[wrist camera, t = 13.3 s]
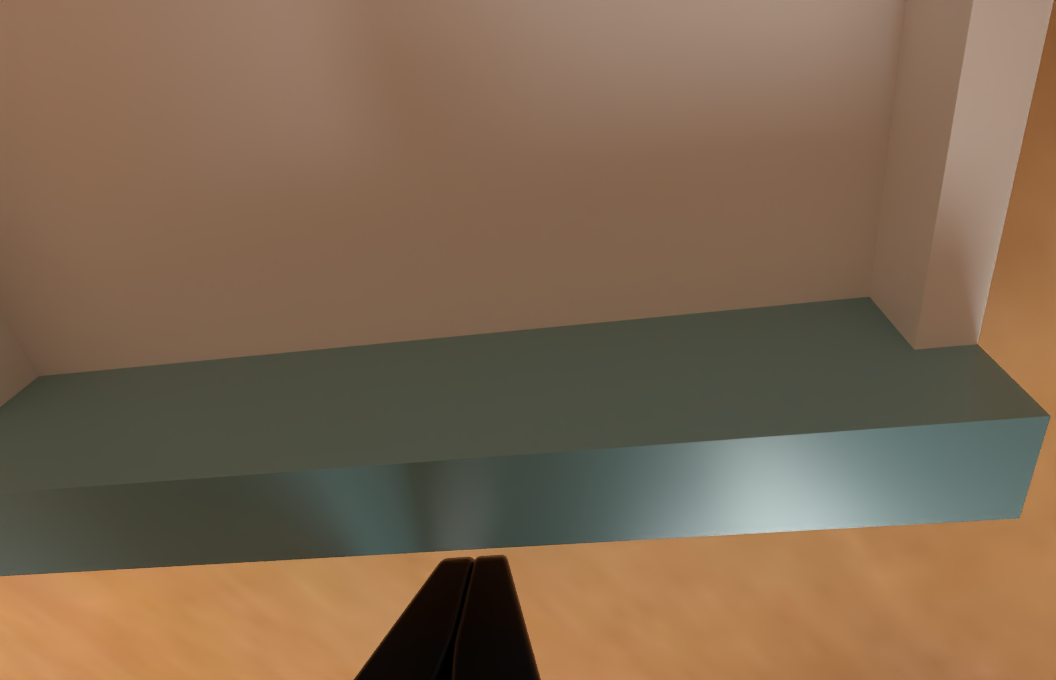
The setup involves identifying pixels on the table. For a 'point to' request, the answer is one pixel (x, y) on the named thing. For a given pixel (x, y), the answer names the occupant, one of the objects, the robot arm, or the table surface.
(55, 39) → the tray
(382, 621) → the table surface
